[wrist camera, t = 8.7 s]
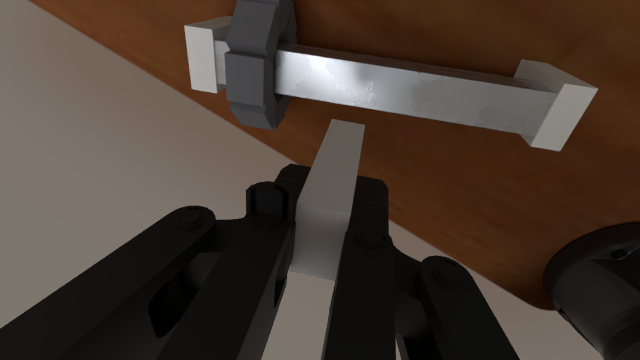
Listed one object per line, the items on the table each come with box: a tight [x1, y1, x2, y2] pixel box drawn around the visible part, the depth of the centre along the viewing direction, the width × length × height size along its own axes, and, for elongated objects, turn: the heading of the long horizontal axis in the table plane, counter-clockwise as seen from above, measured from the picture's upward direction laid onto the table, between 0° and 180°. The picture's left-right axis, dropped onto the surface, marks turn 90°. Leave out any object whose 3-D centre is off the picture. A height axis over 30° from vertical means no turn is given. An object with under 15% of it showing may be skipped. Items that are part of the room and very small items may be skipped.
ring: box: [224, 0, 297, 130], centre depth 23 cm, size 2×9×9 cm, turn 174°
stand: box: [184, 16, 598, 151], centre depth 24 cm, size 27×10×7 cm, turn 84°
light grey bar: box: [214, 36, 557, 136], centre depth 23 cm, size 25×3×3 cm, turn 84°
